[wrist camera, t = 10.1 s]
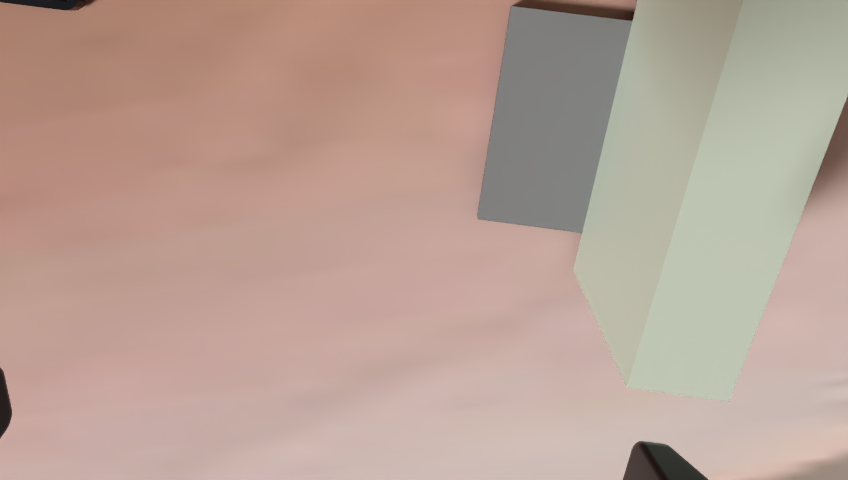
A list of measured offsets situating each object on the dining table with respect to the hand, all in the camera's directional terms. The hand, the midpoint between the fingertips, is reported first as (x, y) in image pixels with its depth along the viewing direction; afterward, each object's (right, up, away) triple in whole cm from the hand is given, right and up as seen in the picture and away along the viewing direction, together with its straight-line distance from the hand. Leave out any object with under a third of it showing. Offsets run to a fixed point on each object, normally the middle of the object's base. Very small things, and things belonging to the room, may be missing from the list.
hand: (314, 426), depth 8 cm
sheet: (+9, +6, +10) cm, 15 cm away
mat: (+9, +6, +11) cm, 15 cm away
